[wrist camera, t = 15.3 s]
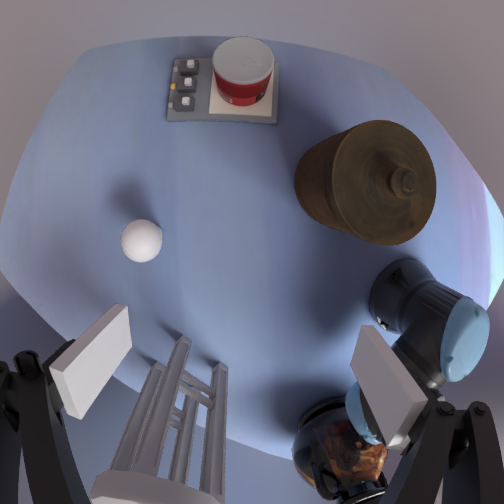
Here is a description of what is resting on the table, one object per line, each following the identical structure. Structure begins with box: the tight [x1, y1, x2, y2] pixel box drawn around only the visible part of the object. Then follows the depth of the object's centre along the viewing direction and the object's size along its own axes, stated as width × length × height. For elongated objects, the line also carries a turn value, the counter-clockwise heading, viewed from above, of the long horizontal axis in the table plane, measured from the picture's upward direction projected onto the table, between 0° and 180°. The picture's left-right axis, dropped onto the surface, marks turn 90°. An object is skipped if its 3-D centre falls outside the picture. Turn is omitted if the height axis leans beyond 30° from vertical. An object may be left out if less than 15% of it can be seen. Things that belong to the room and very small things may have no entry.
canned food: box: [212, 36, 274, 106], centre depth 33 cm, size 8×8×11 cm
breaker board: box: [167, 58, 280, 125], centre depth 38 cm, size 18×12×4 cm, turn 87°
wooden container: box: [295, 120, 436, 246], centre depth 34 cm, size 15×15×22 cm
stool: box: [89, 335, 228, 504], centre depth 34 cm, size 16×16×35 cm
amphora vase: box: [292, 397, 389, 504], centre depth 42 cm, size 22×22×28 cm
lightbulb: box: [121, 219, 162, 262], centre depth 39 cm, size 6×6×11 cm
